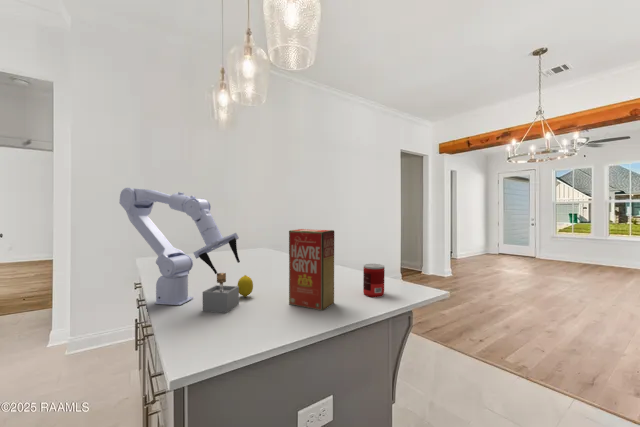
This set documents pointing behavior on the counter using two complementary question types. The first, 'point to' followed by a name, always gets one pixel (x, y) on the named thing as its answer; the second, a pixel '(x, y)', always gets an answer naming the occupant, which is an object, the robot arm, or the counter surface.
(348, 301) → the counter surface
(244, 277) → the lemon
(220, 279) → the plunger
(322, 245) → the food packaging
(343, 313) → the counter surface
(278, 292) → the counter surface
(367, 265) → the canned food
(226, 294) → the open box
